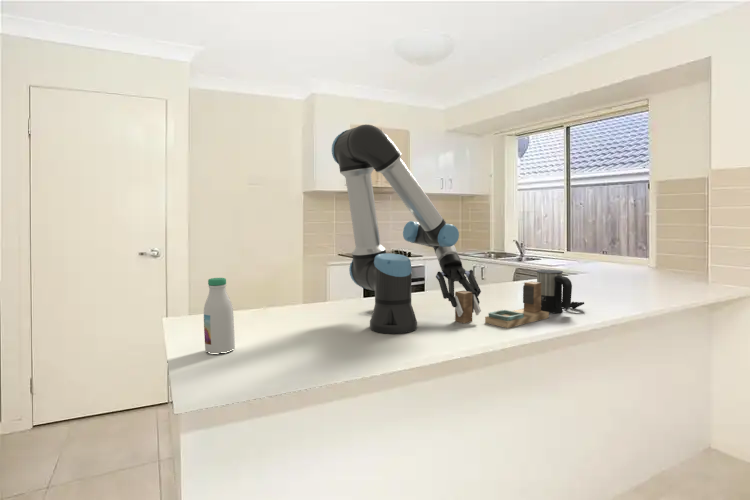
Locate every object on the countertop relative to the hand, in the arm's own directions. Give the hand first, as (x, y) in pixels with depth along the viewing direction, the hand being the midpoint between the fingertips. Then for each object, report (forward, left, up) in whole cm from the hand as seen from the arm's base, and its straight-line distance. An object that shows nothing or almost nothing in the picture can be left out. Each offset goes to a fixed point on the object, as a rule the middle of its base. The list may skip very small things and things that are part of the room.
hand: (469, 313), depth 150 cm
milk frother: (+41, -7, -4) cm, 41 cm away
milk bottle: (-75, +21, -4) cm, 78 cm away
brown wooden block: (+1, +4, -3) cm, 5 cm away
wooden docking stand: (+16, -7, -3) cm, 18 cm away
